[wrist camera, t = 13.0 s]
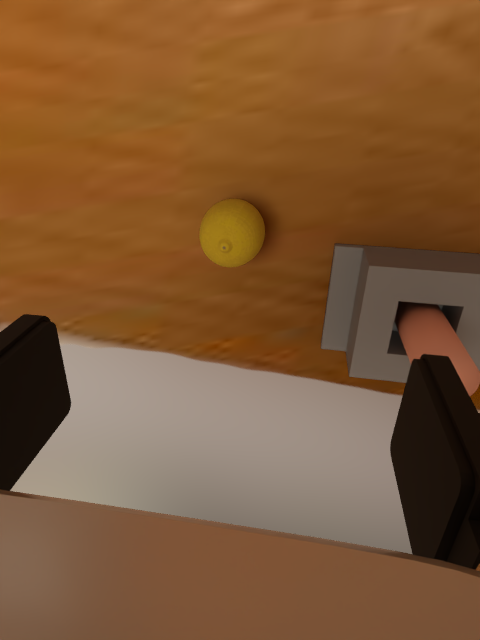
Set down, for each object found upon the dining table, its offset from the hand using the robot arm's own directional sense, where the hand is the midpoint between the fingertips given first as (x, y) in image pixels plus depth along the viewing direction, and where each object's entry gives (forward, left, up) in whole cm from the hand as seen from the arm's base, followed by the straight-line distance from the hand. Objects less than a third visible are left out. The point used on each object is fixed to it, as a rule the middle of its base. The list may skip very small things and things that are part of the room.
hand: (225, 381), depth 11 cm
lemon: (+4, +4, -31) cm, 31 cm away
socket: (-13, +11, -30) cm, 35 cm away
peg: (-13, +11, -30) cm, 34 cm away
